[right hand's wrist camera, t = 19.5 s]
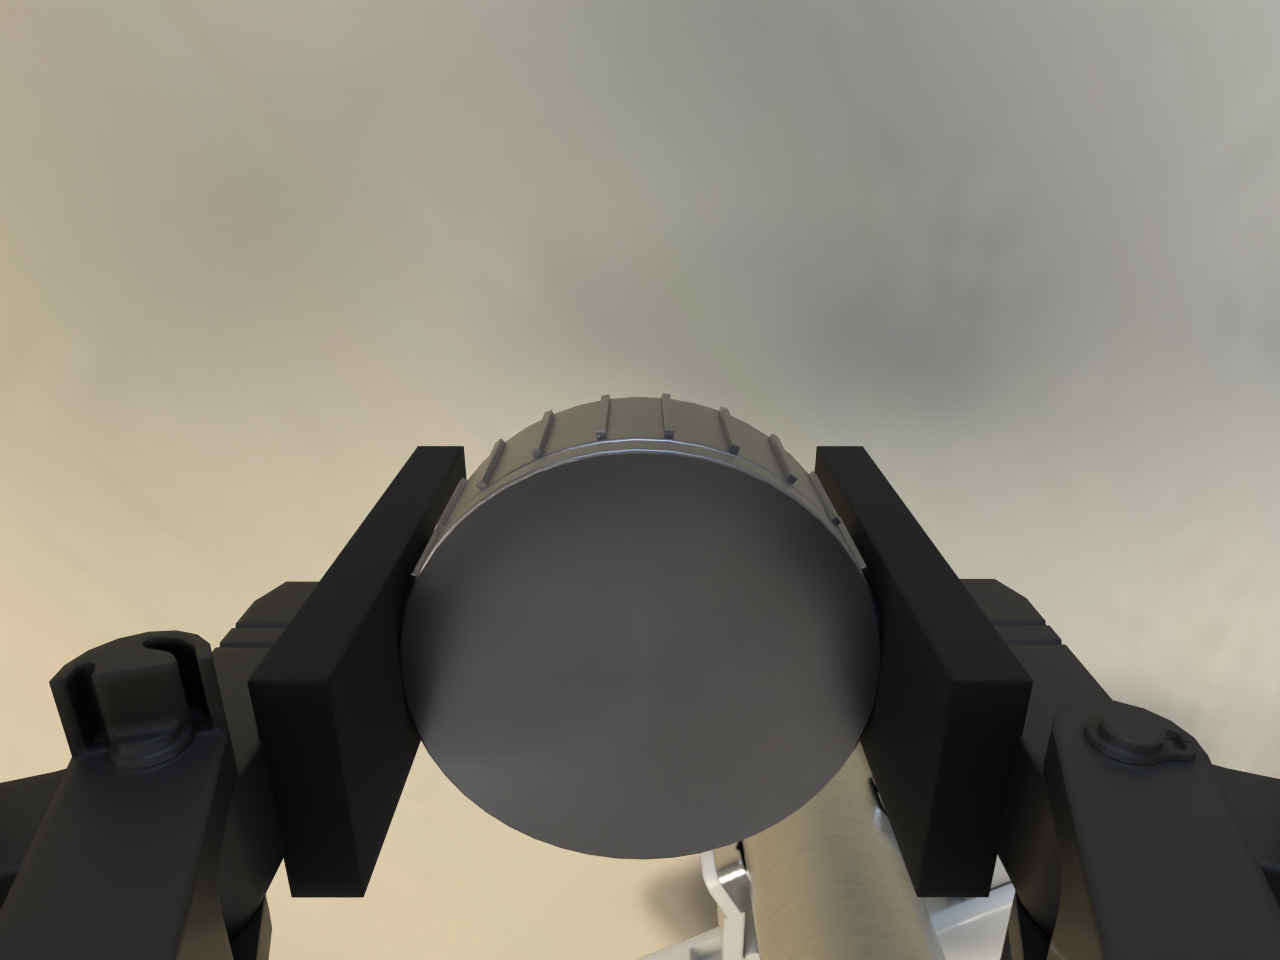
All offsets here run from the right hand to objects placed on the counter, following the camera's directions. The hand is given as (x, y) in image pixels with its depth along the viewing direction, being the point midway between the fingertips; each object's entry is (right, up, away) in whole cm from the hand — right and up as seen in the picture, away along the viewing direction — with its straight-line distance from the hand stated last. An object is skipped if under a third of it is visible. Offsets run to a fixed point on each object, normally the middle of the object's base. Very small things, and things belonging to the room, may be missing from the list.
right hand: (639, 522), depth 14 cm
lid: (0, -2, -4) cm, 4 cm away
